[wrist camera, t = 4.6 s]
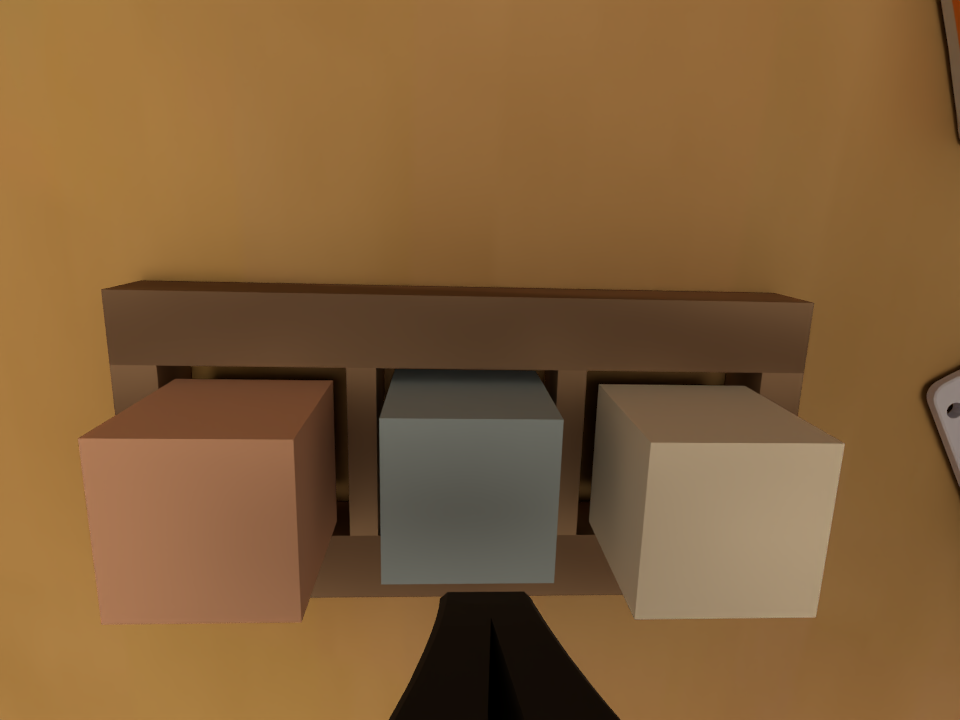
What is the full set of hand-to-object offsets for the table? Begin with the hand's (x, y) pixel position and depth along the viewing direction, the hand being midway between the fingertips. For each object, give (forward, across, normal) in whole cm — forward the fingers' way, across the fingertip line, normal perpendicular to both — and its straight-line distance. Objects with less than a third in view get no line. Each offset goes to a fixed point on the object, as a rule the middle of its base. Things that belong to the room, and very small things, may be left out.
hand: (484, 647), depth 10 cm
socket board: (+10, 0, 0) cm, 10 cm away
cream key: (+8, -6, 0) cm, 10 cm away
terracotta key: (+8, +6, 0) cm, 10 cm away
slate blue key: (+10, 0, 0) cm, 10 cm away
